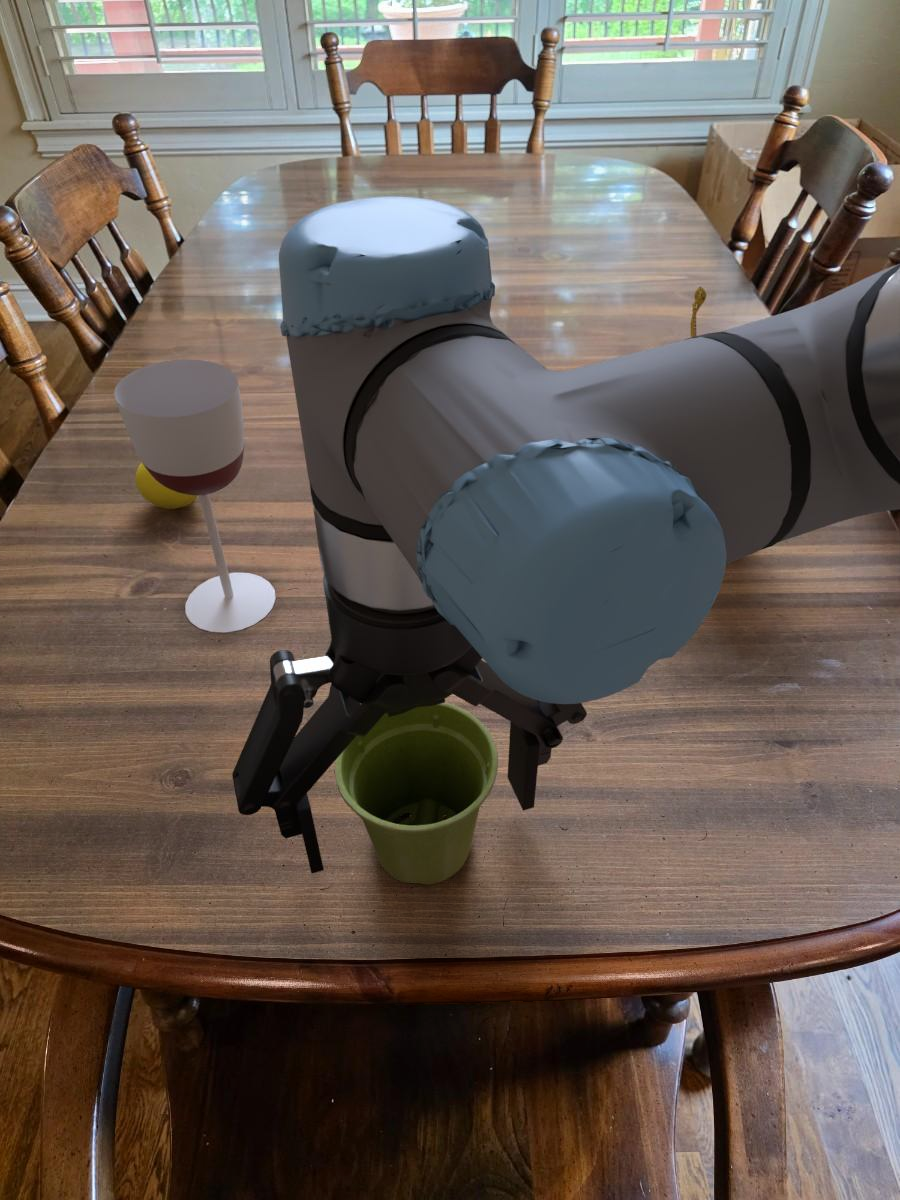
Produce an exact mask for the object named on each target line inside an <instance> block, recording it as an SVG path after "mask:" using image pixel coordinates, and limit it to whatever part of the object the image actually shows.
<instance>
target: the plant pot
mask: <svg viewBox="0 0 900 1200" xmlns="http://www.w3.org/2000/svg"><path fill="white" fill-rule="evenodd" d="M498 771H499V754H498V749H497V746H496V743H495V740H494V738H493V736H492V734H491V733H490V731H489V729H488V728H487V727H486V726H485V724H484V723H483V722H481V721H480V719H478V718H477V717H476V716H475V715H473V714H472V713H470V711H467V710H465V709H463V708H462V707H460V706H458V705H456V704H453V703H450V702H447V701H445V703H441V704H437V705H434V706H426V707H416V708H414V709H412V710H410V711H407V712H405V713H403V714H399V715H396V716H392V717H389V716H388V714H387V713H385V714H384V715H383V716H382V717H381V719H380V720H379V721H378V722H377V723H376V724H375V725H374V727H373V728H372V729H371V730H370V731H369V732H368V733H367V735H365V736H363V737H361V736H356V737H355V738H354V739H353V741H352V742H351V743H350V744H349V745H348V746H347V748H346V749H345V750H344V751H343V752H342V753H341V754H340V756H339V757H338V758H337V759H336V760H335V761H334V777H335V782H336V785H337V786H336V787H337V789H338V791H339V793H340V795H341V798H342V799H343V801H344V802H345V803H346V805H347V806H348V807H349V808H350V809H351V810H352V811H353V812H354V813H355V814H356V815H357V816H358V817H359V818H360V819H361V820H362V822H363V824H364V827H365V830H366V832H367V834H368V836H369V839H370V842H371V845H372V847H373V849H374V852H375V855H376V857H377V859H378V861H379V862H380V866H381V867H382V868H383V870H384V871H386V873H388V875H390V876H391V877H393V878H395V879H396V880H398V881H400V882H402V883H405V884H411V883H412V884H423V885H434V884H438V883H441V882H443V881H445V880H448V879H449V878H450V877H453V876H454V875H455V874H456V873H458V872H459V870H461V868H462V867H463V866H464V865H465V862H466V861H467V859H468V857H469V854H470V851H471V848H472V843H473V839H474V834H475V829H476V825H477V820H478V815H479V811H480V807H481V805H483V803H484V802H485V801H486V799H488V797H489V795H490V793H491V791H492V790H493V788H494V785H495V782H496V779H497V775H498ZM405 814H410V815H409V816H407V817H406V818H404V819H402V820H401V821H399V822H398V823H395V821H396V820H397V819H398V818H400V817H401V816H403V815H405ZM446 816H447V817H449V818H447V819H446V818H445V817H446Z"/></svg>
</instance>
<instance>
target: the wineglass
mask: <svg viewBox="0 0 900 1200" xmlns="http://www.w3.org/2000/svg"><path fill="white" fill-rule="evenodd" d="M113 394H114V399H115V403H116V405H117V408H118V411H119V414H120V416H121V419H122V422H123V424H124V427H125V429H126V431H127V435H128V437H129V439H130V441H131V444H132V446H133V448H134V450H135V452H136V454H137V456H138V458H139V460H140V461H141V463H143V465H144V466H145V468H146V469H147V470H148V472H149V473H150V474H151V475H152V476H153V477H154V479H155V480H157V481H158V482H159V483H160V484H162V485H163V486H165V487H167V488H169V489H171V490H173V491H176V492H179V493H183V494H188V495H198V498H199V502H200V505H201V510H202V514H203V517H204V518H203V519H204V521H205V525H206V529H207V533H208V537H209V541H210V545H211V549H212V553H213V556H214V557H213V558H214V560H215V563H216V569H217V572H218V575H217V576H214V577H211V578H209V579H206V581H204V582H202V583H201V584H199V585H197V586H196V587H195V588H194V589H193V591H191V593H189V595H188V598H187V600H186V602H185V604H184V605H185V615H186V617H187V619H188V621H189V622H190V623H191V624H193V626H195V627H197V628H198V629H201V630H203V631H207V632H210V633H231V632H236V631H237V632H238V631H241V630H244V629H246V628H249V627H252V626H254V625H256V624H258V623H259V622H260V621H262V620H263V619H264V618H266V617H267V616H268V614H269V613H270V612H271V611H272V609H273V608H274V604H275V602H276V599H277V598H276V591H275V588H274V586H272V584H271V582H270V581H269V580H267V579H265V578H264V577H262V576H261V575H257V574H253V573H251V572H230V573H229V570H228V566H227V562H226V558H225V553H224V549H223V546H222V542H221V538H220V537H221V536H220V533H219V529H218V526H217V521H216V517H215V512H214V509H213V506H212V501H211V497H210V494H214V493H217V492H219V491H220V490H223V489H224V488H226V487H228V486H230V484H231V483H232V482H233V481H234V480H235V479H236V477H237V476H238V474H239V473H240V470H241V468H242V465H243V460H244V453H245V425H244V412H243V404H242V396H241V391H240V384H239V380H238V377H237V375H236V374H235V372H233V371H232V370H231V369H230V368H228V367H227V366H225V365H222V364H220V363H217V362H213V361H209V360H202V359H193V358H192V359H191V358H190V359H189V358H187V359H186V358H185V359H184V358H183V359H170V360H163V361H159V362H155V363H151V364H147V365H145V366H142V367H139V368H137V369H135V370H133V371H131V372H130V373H127V374H126V375H125V376H123V378H121V379H120V380H119V382H118V383H117V384H116V386H115V388H114V392H113Z"/></svg>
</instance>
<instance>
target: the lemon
mask: <svg viewBox="0 0 900 1200" xmlns="http://www.w3.org/2000/svg"><path fill="white" fill-rule="evenodd" d="M134 476H135V477H134V479H135V480H134V481H135V484H136V487H137V490H138V491H139V492H140V494H141V496H142V498H144V499H145V500H146V501H148V502H149V503H150V504H152V505H153V506H155V507H158V508H163V509H167V510H168V509H169V510H175V509H180V508H185V507H187V506H188V505H190V504H191V503H192V502H194V501H196V499H197V498H198V497H199V495H188V494H183V493H179V492H176V491H173V490H171V489H169V488H167V487H165V486H163V485H162V484H160V483H159V482H158V481H157V480H155V479H154V477H153V476H152V475H151V474H150V473H149V472H148V470H147V469H146V468H145V466H144V465H143V463H142V462H141V463H140V464H139V465H138V468H137V469H136V471H135V475H134Z"/></svg>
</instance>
